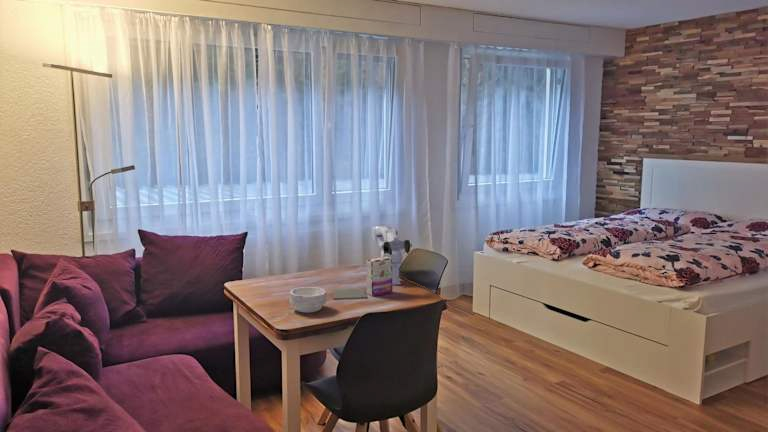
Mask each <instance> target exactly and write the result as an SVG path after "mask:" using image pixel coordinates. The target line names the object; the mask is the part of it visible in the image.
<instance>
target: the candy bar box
mask: <svg viewBox="0 0 768 432" xmlns="http://www.w3.org/2000/svg"><path fill="white" fill-rule="evenodd" d="M365 264H366V295H367V296H370V297H377V296H383V295H387V294H392V293H393V285H392V258H390V257H388V256H386V257H381V256H380V257H373V258H367V259H366V263H365Z"/></svg>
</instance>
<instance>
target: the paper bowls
mask: <svg viewBox="0 0 768 432" xmlns="http://www.w3.org/2000/svg"><path fill="white" fill-rule="evenodd" d="M327 293H328V292H327V290H326V289H325V288H323V287H316V286H303V287H302V286H301V287H296V288H293V289H290V291H289V304H290V305H291V306H292V307H294V308H295V311H297V312H299V313H305V314H307V313H315V312H318V311H320V310H321V309H322V307H323V306H324V305H326V303H327V296H328V294H327Z"/></svg>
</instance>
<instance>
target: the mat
mask: <svg viewBox="0 0 768 432" xmlns="http://www.w3.org/2000/svg"><path fill="white" fill-rule="evenodd" d="M332 296H333V300H355V299H356V300H358V299H363V300H364V299H367V298H368V296H367V293H366V291H365V288H349V289H348V288H347V289H346V288H344V289H343V288H342V289H332Z"/></svg>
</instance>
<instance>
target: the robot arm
mask: <svg viewBox="0 0 768 432" xmlns="http://www.w3.org/2000/svg"><path fill="white" fill-rule="evenodd" d="M371 235H372V239H373V241H374V242H375V243H376V244H378V247H379V249H380V257H386V256H388V257H390V258H392V286H394V285H401V284H402V283H401V281H400V266H401V264H402V262H403V253H402V250H404V253H406V254H409V253H410V251H411V248H413V243H412V241H410V239H409V240H408V239H404V240H402V239H400V237H399V233H398V229H397V228H395V229H393V228H392V227H391V226H389V225H387V226H386V225H385V226H384V225H383V226H373V227H372V231H371Z"/></svg>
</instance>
